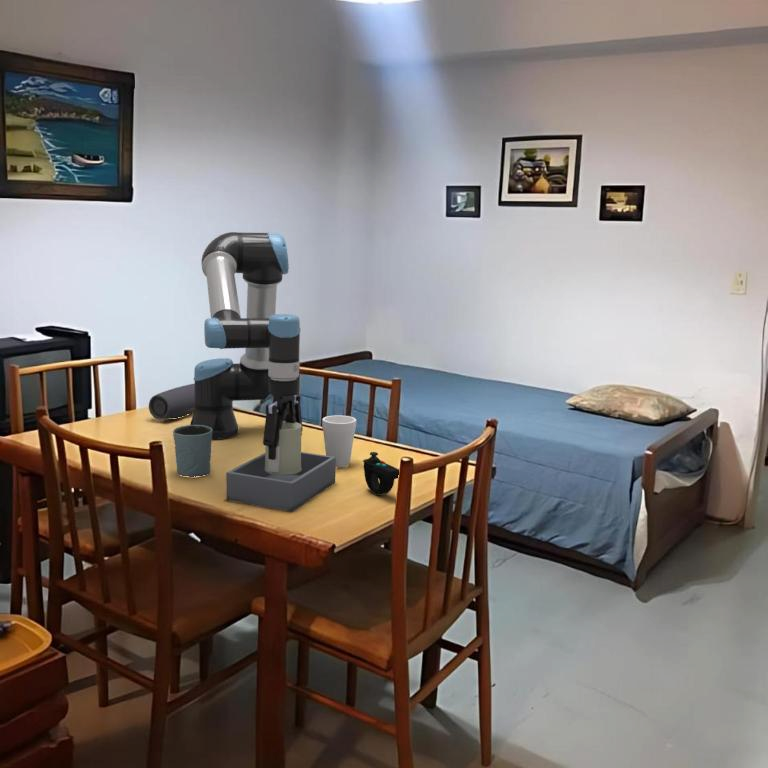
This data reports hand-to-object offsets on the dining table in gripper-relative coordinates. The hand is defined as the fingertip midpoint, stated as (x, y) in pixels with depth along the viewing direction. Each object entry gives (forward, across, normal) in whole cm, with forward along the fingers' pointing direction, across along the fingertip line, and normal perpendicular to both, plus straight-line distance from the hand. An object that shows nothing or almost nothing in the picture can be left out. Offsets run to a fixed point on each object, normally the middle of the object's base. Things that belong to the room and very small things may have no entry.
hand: (283, 466), depth 205 cm
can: (+1, 0, 0) cm, 1 cm away
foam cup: (+7, +27, -3) cm, 28 cm away
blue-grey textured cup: (+7, +2, +28) cm, 29 cm away
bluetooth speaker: (+6, +52, +67) cm, 85 cm away
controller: (+7, +9, -23) cm, 26 cm away
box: (+7, 0, 0) cm, 7 cm away
